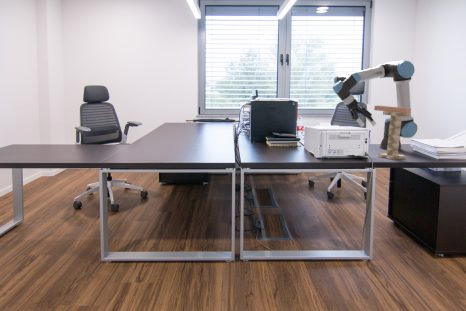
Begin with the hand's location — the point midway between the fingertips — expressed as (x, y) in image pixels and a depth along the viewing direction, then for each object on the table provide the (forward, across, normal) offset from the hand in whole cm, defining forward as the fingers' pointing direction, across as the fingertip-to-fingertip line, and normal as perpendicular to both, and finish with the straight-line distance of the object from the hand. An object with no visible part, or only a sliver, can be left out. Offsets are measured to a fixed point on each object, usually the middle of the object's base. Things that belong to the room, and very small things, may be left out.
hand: (368, 125), depth 287 cm
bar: (-1, +14, +11) cm, 18 cm away
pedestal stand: (+22, +12, -8) cm, 27 cm away
